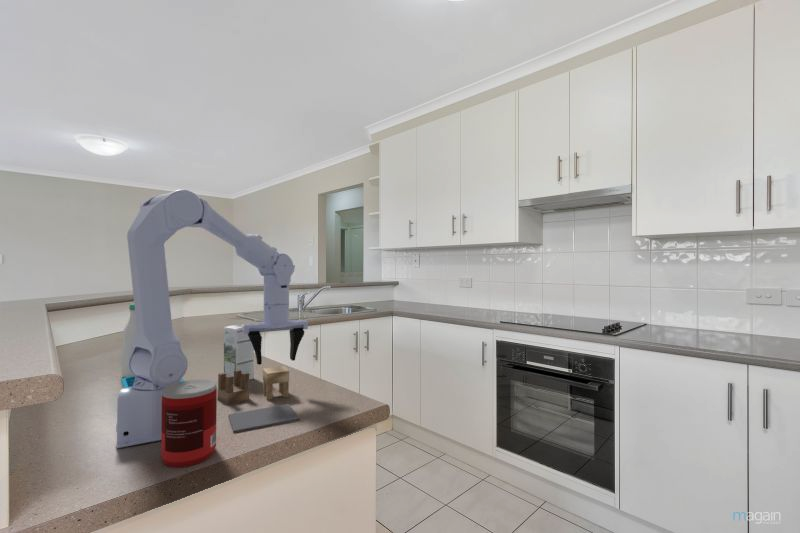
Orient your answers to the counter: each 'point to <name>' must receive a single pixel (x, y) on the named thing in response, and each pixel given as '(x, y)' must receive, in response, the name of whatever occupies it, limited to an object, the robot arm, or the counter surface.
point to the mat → (262, 418)
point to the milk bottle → (128, 341)
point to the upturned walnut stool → (233, 387)
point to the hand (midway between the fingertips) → (276, 361)
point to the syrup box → (238, 351)
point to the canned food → (188, 422)
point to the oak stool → (275, 381)
